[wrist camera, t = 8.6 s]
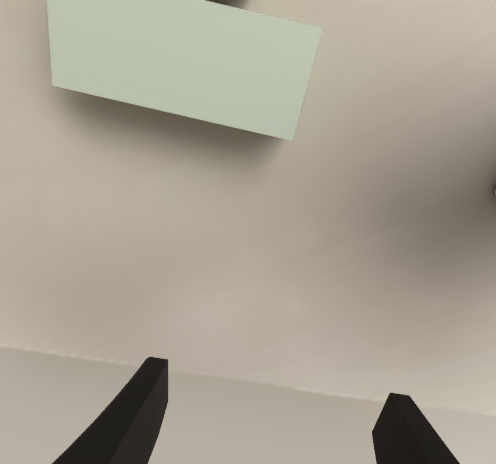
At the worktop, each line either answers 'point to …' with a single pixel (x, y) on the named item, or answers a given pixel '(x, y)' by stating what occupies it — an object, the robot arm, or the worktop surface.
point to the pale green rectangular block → (186, 59)
